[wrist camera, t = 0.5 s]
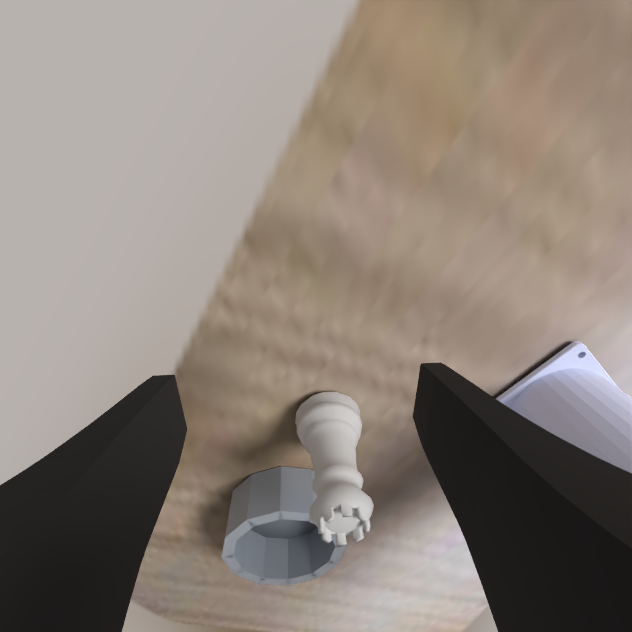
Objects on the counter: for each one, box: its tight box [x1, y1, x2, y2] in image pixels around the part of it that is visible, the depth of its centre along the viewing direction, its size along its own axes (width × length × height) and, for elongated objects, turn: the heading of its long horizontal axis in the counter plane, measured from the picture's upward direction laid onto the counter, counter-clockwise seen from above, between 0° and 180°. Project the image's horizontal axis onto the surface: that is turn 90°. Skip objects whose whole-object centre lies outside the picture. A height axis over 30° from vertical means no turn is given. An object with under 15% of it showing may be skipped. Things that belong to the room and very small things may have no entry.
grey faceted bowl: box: [222, 466, 347, 585], centre depth 26 cm, size 9×9×4 cm
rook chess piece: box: [295, 392, 374, 546], centre depth 20 cm, size 4×4×8 cm
